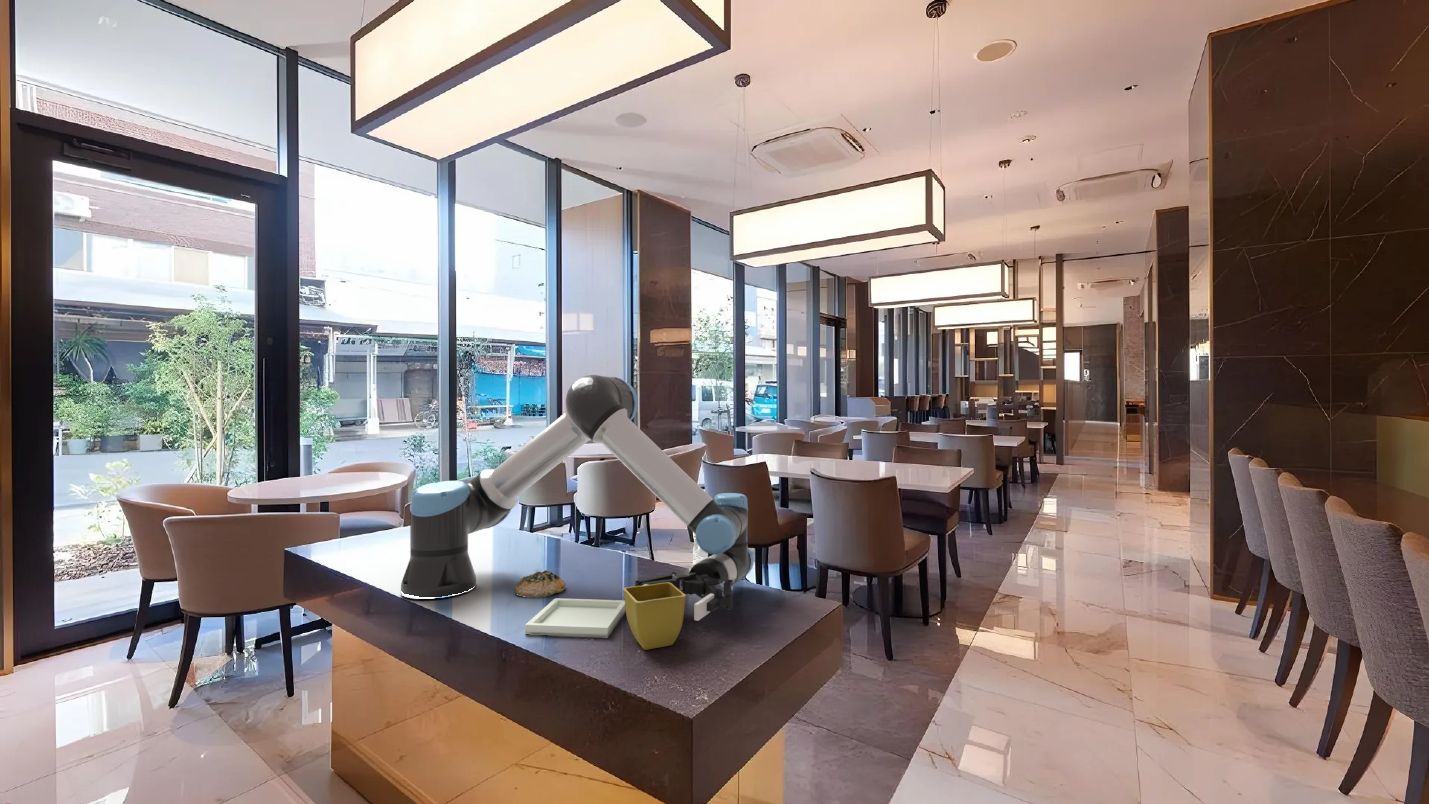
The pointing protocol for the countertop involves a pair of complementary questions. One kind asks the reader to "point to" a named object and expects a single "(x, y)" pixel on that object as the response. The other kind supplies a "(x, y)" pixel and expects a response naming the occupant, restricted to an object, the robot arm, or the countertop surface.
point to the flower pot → (654, 613)
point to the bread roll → (540, 585)
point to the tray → (577, 618)
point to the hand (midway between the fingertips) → (661, 606)
